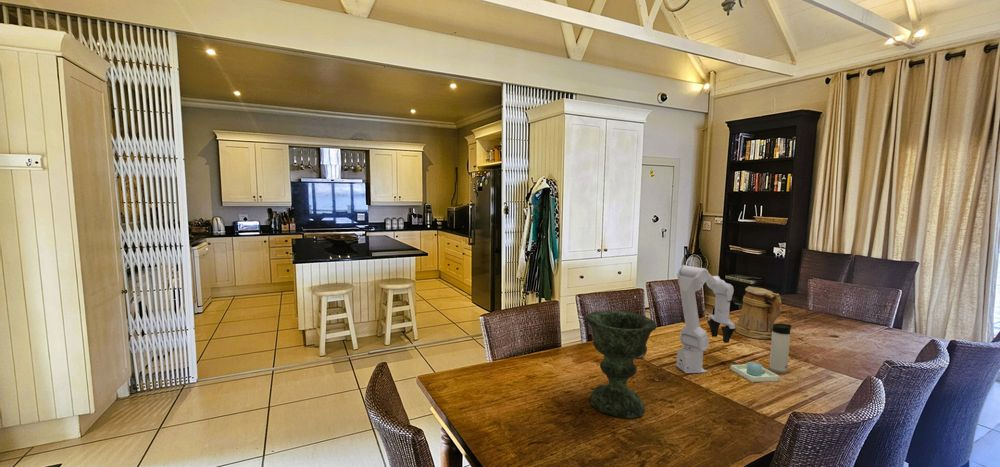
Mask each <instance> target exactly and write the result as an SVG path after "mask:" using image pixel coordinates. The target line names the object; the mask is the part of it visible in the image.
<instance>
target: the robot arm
mask: <svg viewBox="0 0 1000 467" xmlns="http://www.w3.org/2000/svg"><path fill="white" fill-rule="evenodd" d="M676 276H677V282H678V286H679V291H680V292H679V293H680V299H681V305H682V310H683V317H684V324H685V326H683V327H682V328H680V332H679V333H680V336H679V341H680V343H681V345H682V348H679V349H678V350H677V352H676V364H675V367H677V368H678V369H679V370H681V371H682V372H684V373H686V374H696V373H697V374H699V373H700V374H701V373H708V371H707V370H706V369H705V368H703V365H704V364H703V362H704V361H703V360H704V352H705V351H706V350H707V349H708V348H709V345H710V340H709V337H708V335H707V331H705V329H704V328H703V327H701V325H700V318H699V311H698V305H697V298H696V292H698V291H700V290H701V289H702V288H703V286H704V285H705V283H706V286H707V287H708V289H711V290H712V292H713V294H714V295H715V300H714V314H708V320H707V321H706V322H707V325H708V326H709V330H710V335H711V337H712V338H718V334H719V327H720V328H721V331H722V342H723V343H724V344H728V343H730V340H731V337H732V335H733V334H734V333H735V332H736V331H735V330H736V328H735V327H736V324H735V323H734V322H732V320H731V319H730V309H731V308H730V307H731V301H732V299H733V295H734V291H735V290H734V286H733V285H732V284H731V283H728V282H726V281H725V280H724V279H721V278H720V276H719V275H712V274H710V272H709V270H708V269H707V268H705V267H697V266H689V265H686V264H682V265H681V266H680V267H679V268H678V271H677V273H676ZM720 325H723V326H720Z"/></svg>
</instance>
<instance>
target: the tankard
mask: <svg viewBox="0 0 1000 467" xmlns="http://www.w3.org/2000/svg"><path fill="white" fill-rule="evenodd" d="M744 291H745V294H744V295H743V297H742V305H741V310H740V313H739V317H738V321H737V322H736V324H735V328H736V330H735V331H734V332H736V333H737V334H740V335H741V336H744V337H748V338H751V339H756V340H765V341H766V340H771V339H772V329H773V324H775V322H776V320H777V319H778V317H779V316H780V314H781V312H782V309H783V308H782V299H781V298H782V296H781V295H780V294H779V293H774V292H773V291H772V290H769V289H766V288H762V287H756V286H747V287H745V289H744Z"/></svg>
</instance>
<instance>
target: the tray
mask: <svg viewBox="0 0 1000 467" xmlns="http://www.w3.org/2000/svg"><path fill="white" fill-rule="evenodd" d="M730 370H731V371H732V372H734V373H736V374H737V375H739V376H740V377H742V378H744V379H746V380H747V381H749V382H750V383H765V382H767V383H768V382H780V375H778V374H776V372H773V371H771V370H770V369H767V368H766V367H765V368H764V367H763V366H762V370H764V371H765V374H762V376H757V377H756V376H751V375H749V374H747V363H746V364H730Z"/></svg>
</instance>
